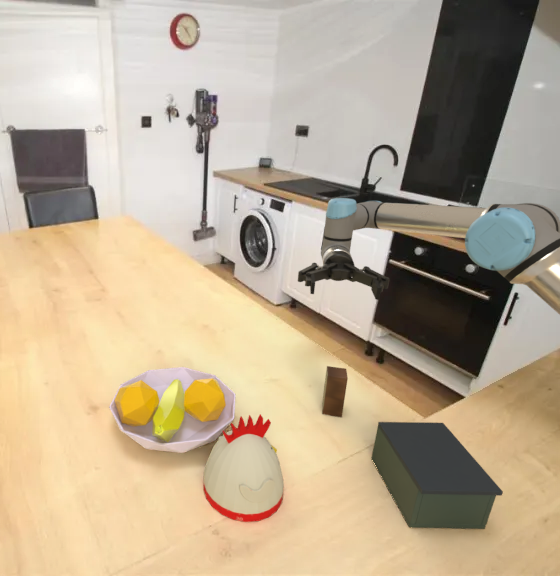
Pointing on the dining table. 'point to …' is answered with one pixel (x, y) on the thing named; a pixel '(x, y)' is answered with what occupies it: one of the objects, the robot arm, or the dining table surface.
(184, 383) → the fruit bowl
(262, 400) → the dining table surface
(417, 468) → the dark grey flat panel
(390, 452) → the dark green tray box
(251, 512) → the kitchen timer
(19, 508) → the dining table surface
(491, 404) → the dining table surface
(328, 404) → the block
